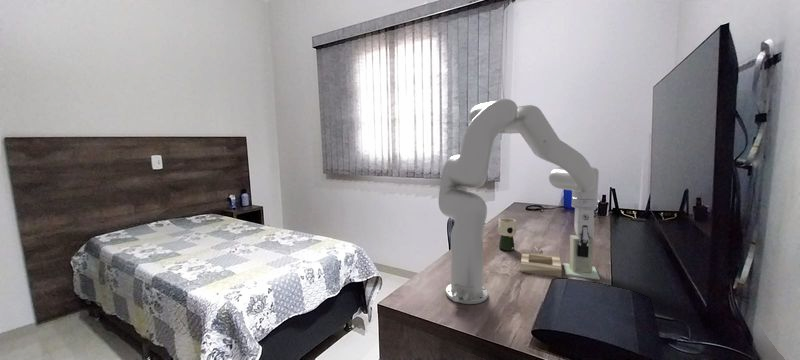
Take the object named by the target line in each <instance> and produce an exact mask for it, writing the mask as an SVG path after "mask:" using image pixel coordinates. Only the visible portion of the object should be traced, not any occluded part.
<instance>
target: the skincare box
mask: <svg viewBox="0 0 800 360" xmlns="http://www.w3.org/2000/svg"><path fill="white" fill-rule="evenodd" d="M580 236H583V235H580ZM588 236H589V235H588ZM582 239H583V238H581V240H582ZM578 245H579V237H578V236H577V235H576V234H573V235H572V234H570V235H569V263H568V264H569V267H570V268H571V270H572V271H573V272H592V267H593V257H594V238H591V237H590V236H589V252H588V257H579V256H577V250H578Z"/></svg>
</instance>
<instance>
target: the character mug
mask: <svg viewBox="0 0 800 360" xmlns="http://www.w3.org/2000/svg"><path fill="white" fill-rule="evenodd" d="M516 228H517V220H516V218H515V219H514V218H509V217H501V218H498V226H497V234H498V235H500V238H499V242H498V244H499V246H498V248H499V249H501V250H503V251H513V250H515V239H514V236H516V234H517V229H516Z"/></svg>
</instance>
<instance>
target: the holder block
mask: <svg viewBox="0 0 800 360" xmlns="http://www.w3.org/2000/svg"><path fill="white" fill-rule="evenodd" d="M520 258H521V260H520V272H521V273H526V274H535V275H536V274H537V275H542V276H547V277H548V276H550V277H555V276H556V277H557V278H562V276H563V275H562V274H563V273H562V271H563V270H562V269H563V268H562V263H561V259H560V255H554V254H547V253H546V254H545V253H538V252H530V251H521V257H520Z"/></svg>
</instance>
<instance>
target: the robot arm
mask: <svg viewBox="0 0 800 360" xmlns="http://www.w3.org/2000/svg"><path fill="white" fill-rule="evenodd" d="M468 119H469V125H467V128H466V130H465V133H464V136H463V138H462V139H463V140H462V144H461V149H460V153H459V154H455V155H453V156H450V157H449V158H448V159H447V160H446V162H445V163H444V166H443V168H442V172H441V179H440V185H439V191H438V208H439V210H440V212H441V213H442V214H443V215H444V216H446V217H447V218H450V219H452V220H453V221H454V223H453V225H452V226H453V227H452V230H451V233H450V284H448V285H446V288H445V295H446V296H447V297H448V298H449V299H450V300H452V301H453V302H455V303H459V304H465V305H476V304H480V303H483V302H485V301H486V300H487V299H488V297H489V292H488V290H487V288H485V286H484V285H483V283H484V282H483V280H484V279H483V278H484V271H483V270H484V234H485V233H484V232H485V225H486V220H487V215H488V207H487V204H486V201H485V200H484V199H483V197H481V195H479V194H477V193H474V192H471V191H468V190H467V189H468V188H472V189H478V188H480V187H482V186H483V185H484V184H485V183H486V182H487V178H488V173H489V167H490V160H491V154H492V150H493V144H494V141H495V140H496V137H497V136H498V135H499V134H520V135H521V137H522V138H523V140H524V141H525V143H526V145H527V146H528V147H529V149H530V150H531V151H532V153H533V154H534V155H535V156H536V157H538V158H540V160H541V159H542V160H544V161H546V162H549V163H550V164H553V165H556V166H558V167H556V168H554V169H553V170H552V171H551V172H550V173H549V175H548V182H549V183H550V185H551V186H552V187H554V188H556V189H560V190H565V191H571V205H570V206H571V207H572V208H574V219H573V220H574V221H573V222H574V224H573V225H574V226H573V227H574V233H575V235H577V236H578V237H579V245H578V250H577V256H579V257H588V252H589V236H590V237H591V238H592V239H594V236H595V235H594V234H595V212H594V210H596V209H597V208H598V195H599V194H598V191H599V177H600V173H599V172H600V171H599V169H598V168H597V167H592V166H591V164H590V162H589V161H588V159H587V158H586V157H584V155H583V154H581V153H580V152H579V151H578V150H576V149H575V148H573V147H572V146H571V145H569V144H568V143H566V142H564V141H563V140H562V139H561V138H560V137H559V136H558V135H557V133H556V132H555V130H554V128H553V127H552V125H551V124H550V122H549V121H548V119H547V117H546V116H545V115H544V113H543V111H542V110H541V108H539V107H538V106H536V105H532V104H527V105H525V104H524V105H521V106H517V103H516V102H515V101H514V100H512V99H507V98H500V99H495V100H491V101H487V102H481V103H479V104H477V105H475V106H474V107H472V108H471V110H470V112H469V117H468ZM580 235H583V236H580ZM581 238H583V239H582V240H581Z"/></svg>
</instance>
